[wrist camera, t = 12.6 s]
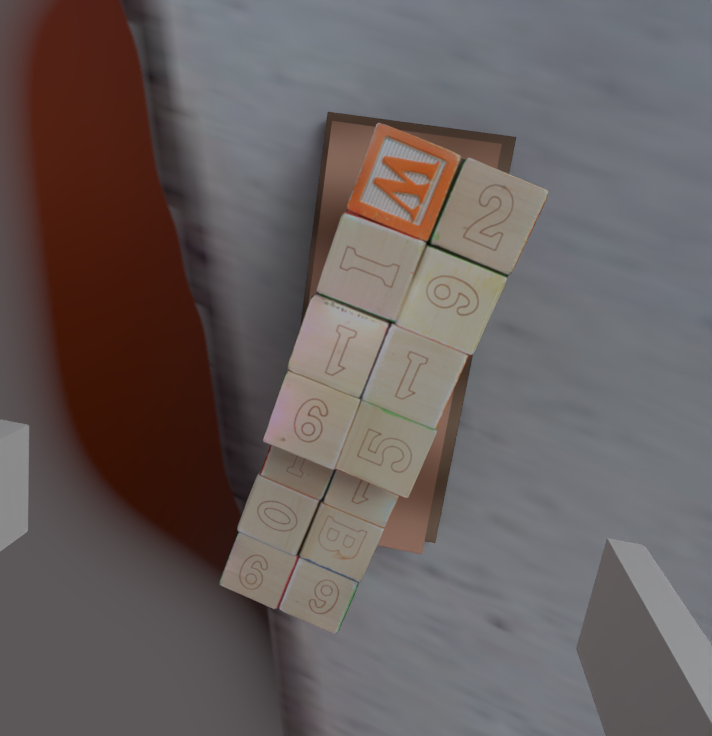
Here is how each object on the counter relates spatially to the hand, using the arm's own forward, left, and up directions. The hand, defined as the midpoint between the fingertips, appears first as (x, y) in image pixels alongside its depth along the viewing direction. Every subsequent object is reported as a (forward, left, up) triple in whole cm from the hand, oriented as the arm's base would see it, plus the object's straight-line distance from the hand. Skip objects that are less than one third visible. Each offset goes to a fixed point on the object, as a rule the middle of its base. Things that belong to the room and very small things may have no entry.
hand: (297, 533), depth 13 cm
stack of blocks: (+1, 0, -21) cm, 21 cm away
